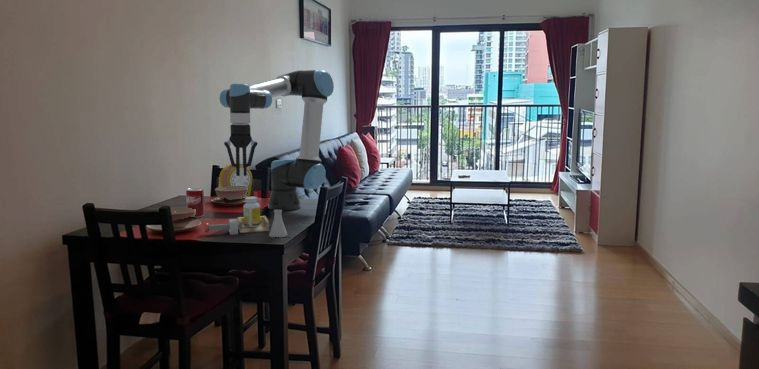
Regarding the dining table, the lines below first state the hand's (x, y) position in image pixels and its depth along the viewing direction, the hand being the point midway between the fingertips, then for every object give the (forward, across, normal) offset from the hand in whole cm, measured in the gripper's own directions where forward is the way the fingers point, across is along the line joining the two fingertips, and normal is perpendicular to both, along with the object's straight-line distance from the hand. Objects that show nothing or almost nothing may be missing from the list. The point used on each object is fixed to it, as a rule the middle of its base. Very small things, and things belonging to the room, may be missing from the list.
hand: (241, 184), depth 221 cm
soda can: (+18, +17, -30) cm, 39 cm away
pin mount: (+18, +4, +4) cm, 19 cm away
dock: (+18, -4, -1) cm, 19 cm away
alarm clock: (+18, -3, -68) cm, 70 cm away
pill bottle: (+18, -4, -2) cm, 18 cm away
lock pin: (+18, +8, +4) cm, 20 cm away
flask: (+19, -12, +14) cm, 26 cm away
